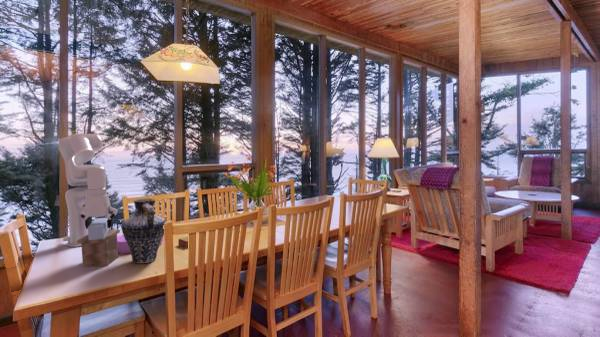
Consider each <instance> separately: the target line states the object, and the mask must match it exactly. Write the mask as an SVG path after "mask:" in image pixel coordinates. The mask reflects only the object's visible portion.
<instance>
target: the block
mask: <svg viewBox="0 0 600 337" xmlns="http://www.w3.org/2000/svg"><path fill="white" fill-rule="evenodd" d="M107 220H108V219H107V217H100V218H99V217H96V218H94V219H93V220H92V221H91V224H90V225H89V227H88V238H89V240H97V239H104V238H105V236H106V234H107V233H108V231H109V230H110V228H107Z"/></svg>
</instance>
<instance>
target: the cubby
mask: <svg viewBox="0 0 600 337" xmlns="http://www.w3.org/2000/svg"><path fill="white" fill-rule="evenodd" d="M120 233H121V231H120V229H109V231H108V233H107V234H106V236H105V238H104V239H97V240H89V238H88V235H87V236H85V237H83V238H81V239H79V240H77V243H81V244H82V246H81V258H82V267H83V268H84V267H106V266H107V267H108V266H110V265H111V264H112V263H113V262H114V261H116V260H117V259H118V258H119V254H118V245H117V236H118V235H119V234H120Z"/></svg>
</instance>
